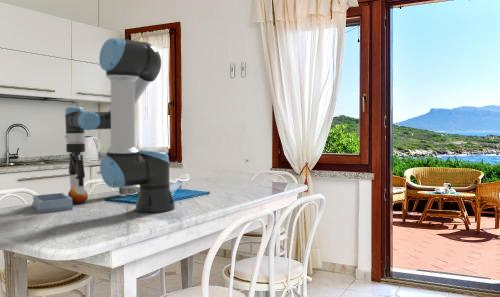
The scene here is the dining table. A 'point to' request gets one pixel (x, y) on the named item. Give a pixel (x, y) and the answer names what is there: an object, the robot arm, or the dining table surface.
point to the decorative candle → (127, 191)
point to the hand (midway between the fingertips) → (77, 191)
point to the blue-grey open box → (52, 202)
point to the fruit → (77, 196)
